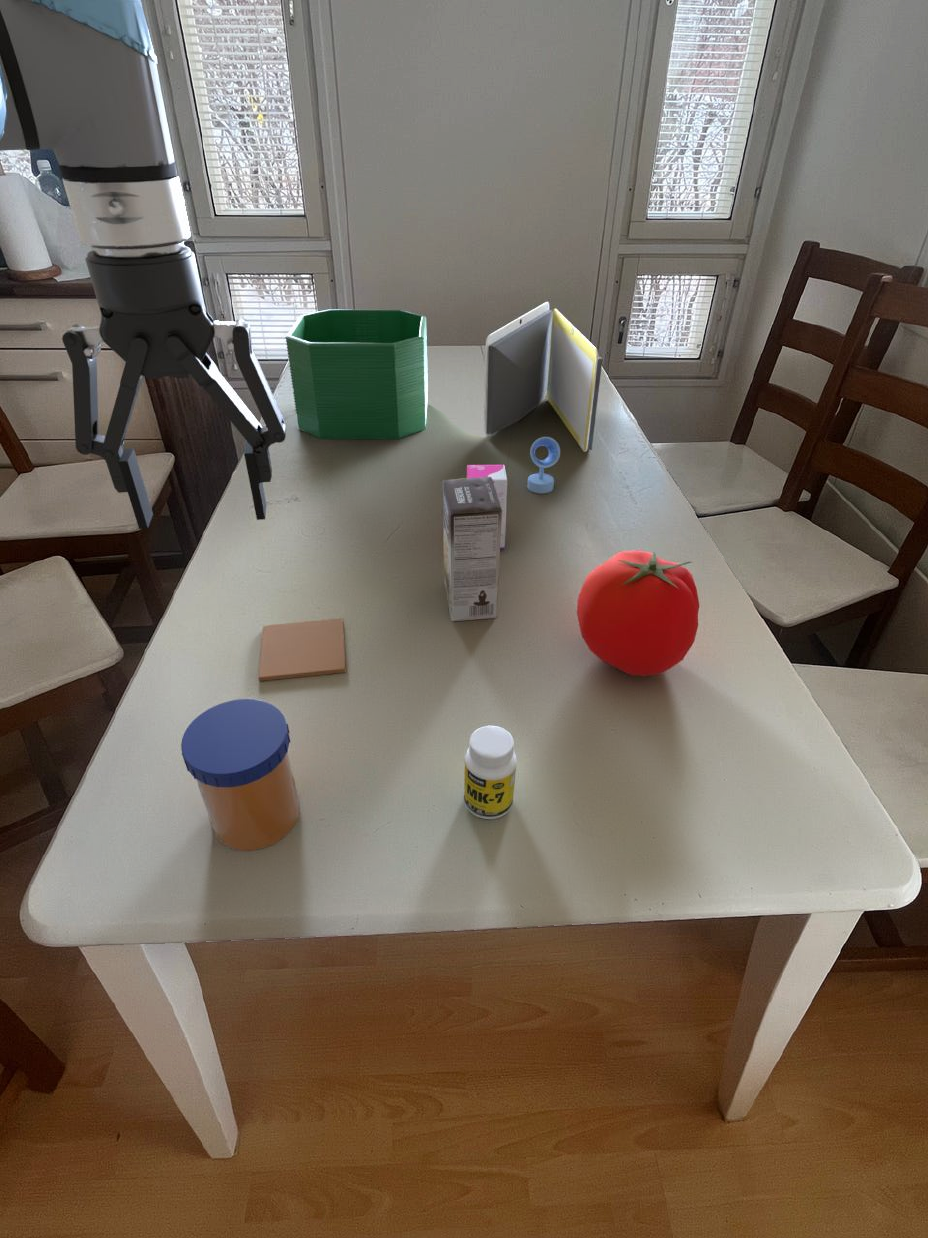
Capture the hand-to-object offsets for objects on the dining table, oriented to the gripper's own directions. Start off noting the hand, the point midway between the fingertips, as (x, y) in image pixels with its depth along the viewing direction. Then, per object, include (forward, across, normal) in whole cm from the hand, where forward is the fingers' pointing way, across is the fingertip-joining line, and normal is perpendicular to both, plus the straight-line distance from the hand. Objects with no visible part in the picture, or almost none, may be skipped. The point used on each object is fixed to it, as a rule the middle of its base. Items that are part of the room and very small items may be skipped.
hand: (204, 517), depth 64 cm
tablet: (+23, +52, +75) cm, 94 cm away
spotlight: (+23, +47, +45) cm, 69 cm away
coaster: (+23, +6, +8) cm, 25 cm away
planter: (+23, +19, +84) cm, 89 cm away
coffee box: (+23, +28, +14) cm, 39 cm away
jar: (+23, +2, -16) cm, 28 cm away
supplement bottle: (+23, +24, -19) cm, 38 cm away
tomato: (+23, +45, 0) cm, 51 cm away
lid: (+13, +2, -16) cm, 21 cm away
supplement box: (+23, +33, +29) cm, 50 cm away
